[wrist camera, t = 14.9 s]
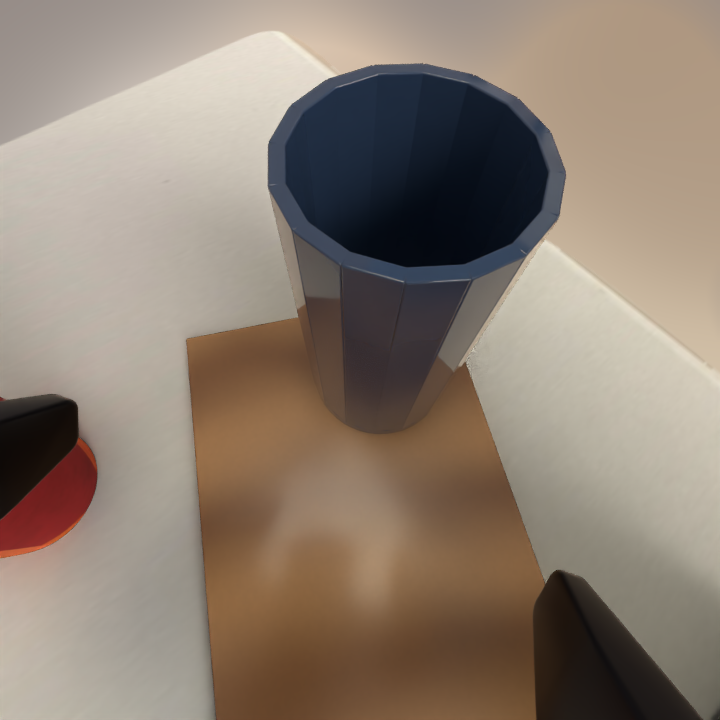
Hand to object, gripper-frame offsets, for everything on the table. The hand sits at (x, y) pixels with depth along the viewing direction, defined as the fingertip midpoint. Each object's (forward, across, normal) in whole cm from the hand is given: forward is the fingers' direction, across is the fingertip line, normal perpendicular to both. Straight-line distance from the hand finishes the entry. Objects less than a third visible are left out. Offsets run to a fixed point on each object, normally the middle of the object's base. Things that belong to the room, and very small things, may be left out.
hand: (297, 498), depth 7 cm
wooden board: (+10, -1, +8) cm, 13 cm away
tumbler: (+14, 0, +3) cm, 14 cm away
